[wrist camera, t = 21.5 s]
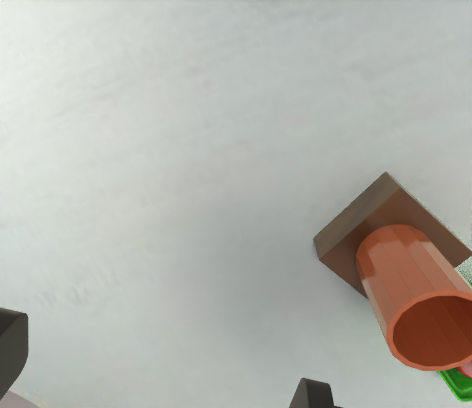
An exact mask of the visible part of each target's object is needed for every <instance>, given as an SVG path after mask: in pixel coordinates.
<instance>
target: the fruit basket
mask: <svg viewBox="0 0 472 408" xmlns="http://www.w3.org/2000/svg"><path fill="white" fill-rule="evenodd" d="M469 283H470V282H469ZM470 285H471V286H472V283H470ZM437 372H438V373H439V374H440V376H441V377H442V378H443V380H444V381H445V382H446V384H447V385H448V387H449V388H450V389H451V391H452V392H453V393H454V395H455V396H456V398H457V399H458V400H460V401H463V402H469V401H472V360H471V361H470V362H468V363H466V364H465V365H462V366H459V367H455V368H452V369H448V370H445V371H437Z"/></svg>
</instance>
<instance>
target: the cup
mask: <svg viewBox="0 0 472 408" xmlns="http://www.w3.org/2000/svg"><path fill="white" fill-rule="evenodd" d="M355 264H356V268H357V272H358V274H359V277H360V279H361V281H362V284H363V286H364V289H365V291H366V294H367V296H368V298H369V301H370V303H371V306H372V308H373V311H374V313H375V315H376V318H377V320H378V323H379V325H380V328H381V330H382V333H383V335H384V337H385V340H386V342H387V344H388V346H389V349H390V351H391V353H392V355H393V356H394V357H396V358H397V359H398V360H400V361H401V362H402V363H403V364H405V365H406V366H409V367H413V368H416V369H419V370H423V371H445V370H448V369H452V368H455V367H459V366H462V365H465V364H466V363H468V362H470V361H471V360H472V286H471V285H470V283H469V282H468V281H467V280H466V279H465V278H464V277H463V275H462V274H461V273H460V272H459V271H458V270H457V268H456V267H455V266H454V265H453V264H452V263H451V262H450V260H449V259H448V258H447V257H446V256H445V255H444V253H443V252H442V251H441V250H440V249H439V248H438V247H437V245H436V244H435V243H434V242H433V241H432V240H431V239H430V238H429V237H428V236H427V235H426V234H425V233H424V232H423V231H421V230H420V229H418V228H416V227H413V226H410V225H405V224H393V225H388V226H384V227H381V228H379V229H377V230H375V231H373V232H372V233H370V234H369V235H368V236H367V237H366V238H365V239H364V240H363V241H362V242H361V244H360V246H359V248H358V250H357V253H356V258H355Z"/></svg>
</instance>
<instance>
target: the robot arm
mask: <svg viewBox="0 0 472 408" xmlns="http://www.w3.org/2000/svg"><path fill="white" fill-rule="evenodd" d="M27 357H28V316H27V314H26V313H22V312H18V311H13V310H9V309H4V308H0V400H1V399H2V397H3V396H4V395H5V393H6V392H7V391H8V389H9V388H10V387H11V385H12V384H13V383H14V381H15V380H16V379H17V377H18V376H19V375H20V373H21V371H22V370H23V368H24V366H25V363H26V360H27ZM289 408H342V407H337V406H334V402H333V397H332V392H331V388H330V385H329V384H328V383H323V382H319V381H315V380H310V379H306V378H302V379H301V380H300V382H299V385H298V387H297V390H296V392H295V395H294V397H293V399H292V402H291V404H290V407H289Z"/></svg>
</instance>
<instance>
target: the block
mask: <svg viewBox="0 0 472 408" xmlns="http://www.w3.org/2000/svg"><path fill="white" fill-rule="evenodd" d="M393 224H405V225H410V226H413V227H416V228H418V229H420V230H421V231H423V232H424V233H425V234H426V235H427V236H428V237H429V238H430V239H431V240H432V241H433V242H434V243H435V244H436V245H437V247H438V248H439V249H440V250H441V251H442V252H443V253H444V255H445V256H446V257H447V258H448V259H449V260H450V262H451V263H452V264H453V265H454V266H455V267H457V266H458V265H460V264H461V263H462V262H464V261H465V260H466V259H468V258H469V257H470V256H472V251H471V250H470V249H469V248H468V247H467V246H466V245H465V244H464V243H463V242H462V241H461V240H460V239H459V238H458V237H457V236H456V235H455V234H454V233H453V232H451V231H450V230H449V229H448V228H447V227H446V226H445V225H444V224H443V223H442V222H441V221H439V220H438V219H437V218H436V217H435V216H434V215H433V214H432V213H431V212H430V211H429V210H427V209H426V208H425V207H424V206H423V205H422V204H421V203H420V202H419V201H418V200H417V199H415V198H414V197H413V196H412V195H411V194H410V193H409V192H408V191H407V190H406V189H405V188H403V187H402V186H401V185H400V184H399V183H398V182H397V181H396V180H395V179H394V178H393V177H391V176H390V175H389V174H388V173H387V172H385V173H384V174H383V175H381V176H380V177H379V178H378V179H377V180H376V181H375V182H374V183H373V184H372V185H371V186H370V187H368V188H367V189H366V190H365V191H364V192H363V193H362V194H361V195H360V196H359V197H358V198H357V199H355V200H354V201H353V202H352V203H351V204H350V205H349V206H348V207H347V208H346V209H345V210H344V211H342V212H341V213H340V214H339V215H338V216H337V217H336V218H335V219H334V220H333V221H332V222H331V223H330V224H328V225H327V226H326V227H325V228H324V229H323V230H322V231H321V232H320V233H319V234H318V235H317V236H315V237H314V242H315V246H316V250H317V254H318V258H319V260H320V261H321V262H322V263H324V264H325V265H326V266H327V267H328V268H330V269H331V270H332V271H333V272H335V273H336V274H337V275H338V276H340V277H341V278H342V279H343V280H345V281H346V282H347V283H348V284H350V285H351V286H352V287H353V288H355V289H356V290H357V291H358V292H360V293H361V294H362V295H363V296H365V297H366V298H367V299H368V300H369V298H368V296H367V294H366V291H365V289H364V286H363V284H362V281H361V279H360V277H359V274H358V272H357V268H356V264H355V258H356V253H357V250H358V248H359V246H360V244H361V242H362V241H363V240H364V239H365V238H366V237H367V236H368V235H369V234H370V233H372V232H373V231H375V230H377V229H379V228H381V227H384V226H388V225H393Z"/></svg>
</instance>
